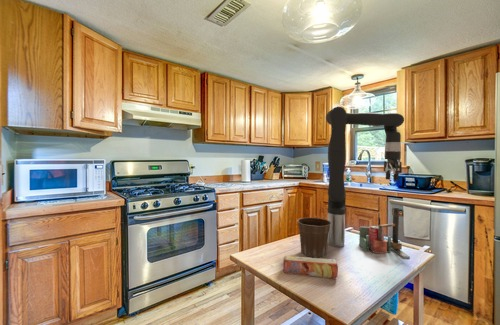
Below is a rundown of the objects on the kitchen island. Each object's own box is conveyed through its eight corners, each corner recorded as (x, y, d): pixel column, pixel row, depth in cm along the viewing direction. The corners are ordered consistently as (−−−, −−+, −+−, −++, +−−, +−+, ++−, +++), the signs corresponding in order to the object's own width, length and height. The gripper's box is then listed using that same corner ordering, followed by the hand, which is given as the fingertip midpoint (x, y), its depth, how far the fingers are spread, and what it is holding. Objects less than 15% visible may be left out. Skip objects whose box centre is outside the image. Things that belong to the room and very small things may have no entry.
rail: (403, 258, 113) (403, 256, 113) (387, 246, 128) (387, 244, 128) (409, 258, 113) (409, 256, 113) (393, 246, 128) (393, 244, 128)
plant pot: (290, 253, 117) (291, 221, 116) (306, 244, 129) (306, 215, 128) (321, 263, 106) (322, 228, 105) (335, 253, 118) (336, 221, 117)
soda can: (382, 248, 126) (382, 225, 125) (384, 253, 119) (385, 229, 119) (367, 246, 128) (367, 224, 128) (369, 250, 122) (369, 227, 121)
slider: (374, 252, 118) (375, 209, 118) (367, 246, 127) (368, 205, 126) (405, 254, 117) (406, 210, 117) (396, 247, 126) (397, 206, 125)
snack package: (282, 275, 95) (283, 258, 95) (284, 267, 102) (284, 252, 102) (338, 281, 91) (338, 264, 91) (335, 273, 97) (335, 257, 97)
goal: (366, 251, 121) (366, 232, 121) (359, 244, 130) (359, 226, 130) (390, 252, 120) (391, 233, 120) (381, 245, 129) (382, 227, 129)
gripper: (379, 151, 137) (378, 178, 137) (392, 150, 122) (391, 181, 123) (393, 151, 136) (392, 179, 136) (407, 150, 122) (406, 181, 122)
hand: (391, 180), depth 130 cm, fingers open, 8 cm apart
